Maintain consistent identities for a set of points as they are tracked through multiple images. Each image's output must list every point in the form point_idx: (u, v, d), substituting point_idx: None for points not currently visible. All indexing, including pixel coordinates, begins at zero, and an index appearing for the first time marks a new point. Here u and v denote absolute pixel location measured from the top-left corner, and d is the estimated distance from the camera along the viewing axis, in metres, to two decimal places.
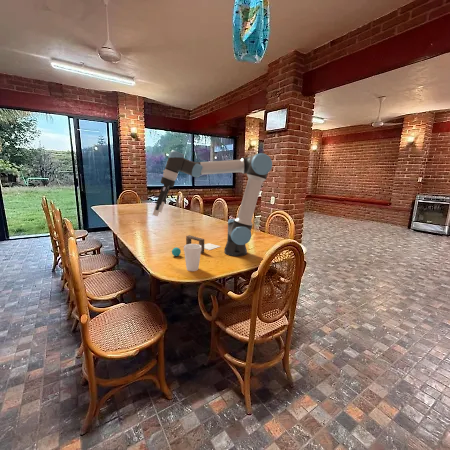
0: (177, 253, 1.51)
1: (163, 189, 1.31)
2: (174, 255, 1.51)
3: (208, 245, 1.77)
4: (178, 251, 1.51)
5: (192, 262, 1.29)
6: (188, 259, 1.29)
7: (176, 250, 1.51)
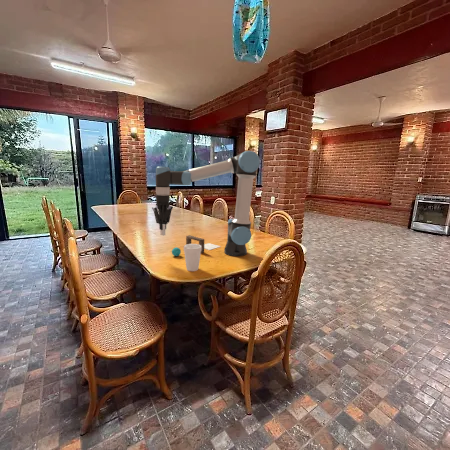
0: (177, 253, 1.51)
1: (154, 210, 1.36)
2: (174, 255, 1.51)
3: (208, 245, 1.77)
4: (178, 251, 1.51)
5: (192, 262, 1.29)
6: (188, 259, 1.29)
7: (176, 250, 1.51)
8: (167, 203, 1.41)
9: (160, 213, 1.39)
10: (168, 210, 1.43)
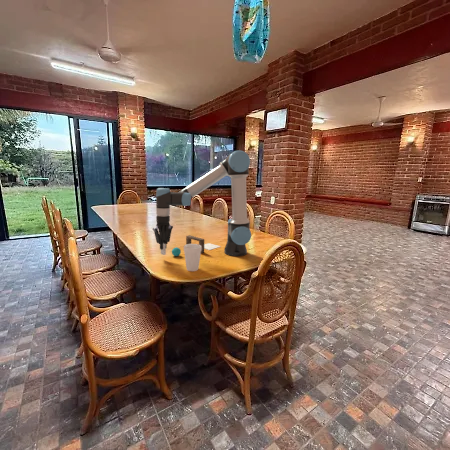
0: (177, 253, 1.51)
1: (154, 230, 1.38)
2: (174, 255, 1.51)
3: (208, 245, 1.77)
4: (178, 251, 1.51)
5: (192, 262, 1.29)
6: (188, 259, 1.29)
7: (176, 250, 1.51)
8: (167, 223, 1.43)
9: (160, 233, 1.41)
10: (168, 230, 1.46)
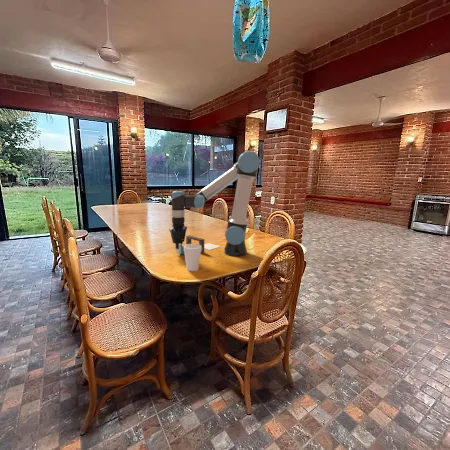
0: None
1: (171, 231, 1.47)
2: None
3: (208, 245, 1.77)
4: None
5: (192, 262, 1.29)
6: (188, 259, 1.29)
7: None
8: (182, 224, 1.52)
9: (176, 234, 1.50)
10: (183, 230, 1.54)
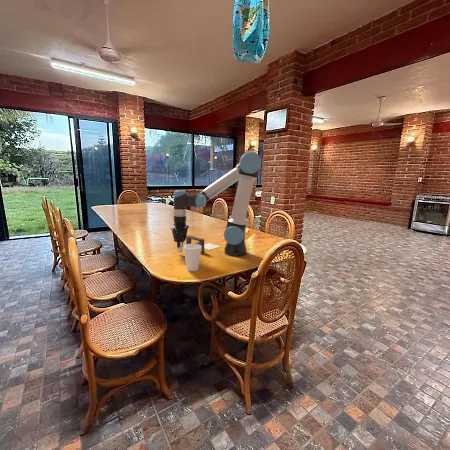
0: None
1: (172, 230, 1.48)
2: None
3: (208, 245, 1.77)
4: None
5: (192, 262, 1.29)
6: (188, 259, 1.29)
7: (198, 243, 1.66)
8: (184, 223, 1.53)
9: (178, 232, 1.51)
10: (184, 229, 1.56)
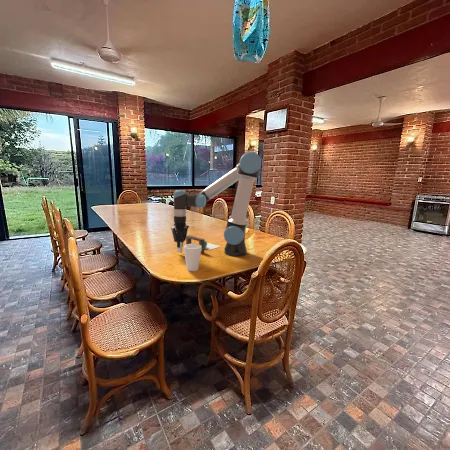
0: (206, 243, 1.70)
1: (172, 230, 1.48)
2: None
3: (208, 245, 1.77)
4: (206, 244, 1.71)
5: (192, 262, 1.29)
6: (188, 259, 1.29)
7: (206, 243, 1.72)
8: (184, 223, 1.53)
9: (178, 232, 1.51)
10: (184, 229, 1.56)
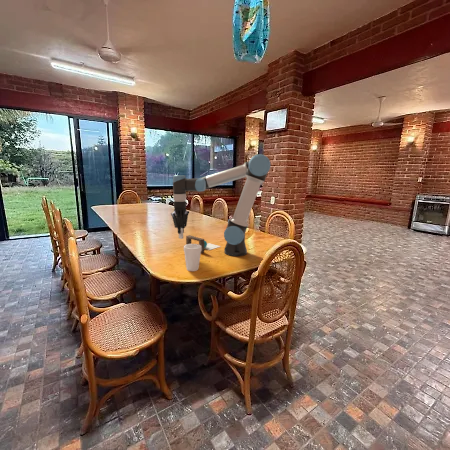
0: (206, 243, 1.70)
1: (172, 215, 1.46)
2: None
3: (208, 245, 1.77)
4: (206, 244, 1.71)
5: (192, 262, 1.29)
6: (188, 259, 1.29)
7: (206, 243, 1.72)
8: (184, 208, 1.51)
9: (178, 218, 1.49)
10: (185, 215, 1.54)
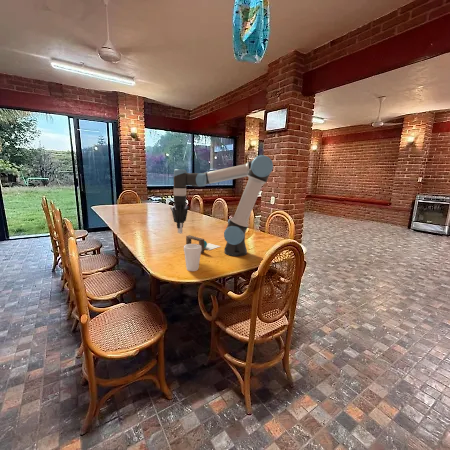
0: (206, 243, 1.70)
1: (172, 209, 1.46)
2: None
3: (208, 245, 1.77)
4: (206, 244, 1.71)
5: (192, 262, 1.29)
6: (188, 259, 1.29)
7: (206, 243, 1.72)
8: (184, 203, 1.50)
9: (178, 212, 1.49)
10: (184, 210, 1.53)
